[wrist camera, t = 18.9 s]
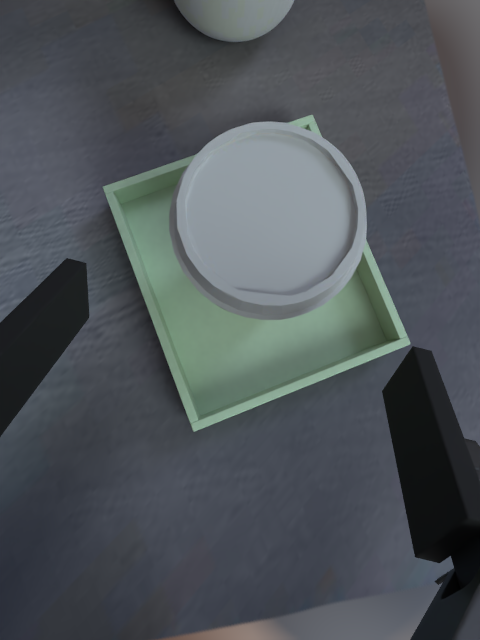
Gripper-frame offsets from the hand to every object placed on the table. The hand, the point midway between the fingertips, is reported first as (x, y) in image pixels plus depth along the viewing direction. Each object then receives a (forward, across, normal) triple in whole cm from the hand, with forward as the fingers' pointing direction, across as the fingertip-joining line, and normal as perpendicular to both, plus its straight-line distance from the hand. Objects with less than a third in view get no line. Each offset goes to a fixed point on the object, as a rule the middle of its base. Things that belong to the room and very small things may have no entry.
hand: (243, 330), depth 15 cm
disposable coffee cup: (+13, 0, -5) cm, 14 cm away
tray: (+14, 0, -6) cm, 15 cm away
